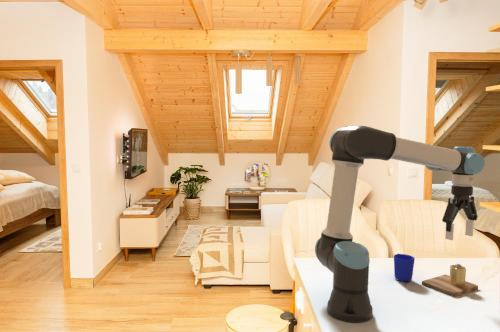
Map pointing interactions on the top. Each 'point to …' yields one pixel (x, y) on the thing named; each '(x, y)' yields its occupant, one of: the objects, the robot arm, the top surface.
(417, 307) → the top surface
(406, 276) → the mug
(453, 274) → the bushing
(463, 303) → the top surface
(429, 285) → the board
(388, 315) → the top surface
